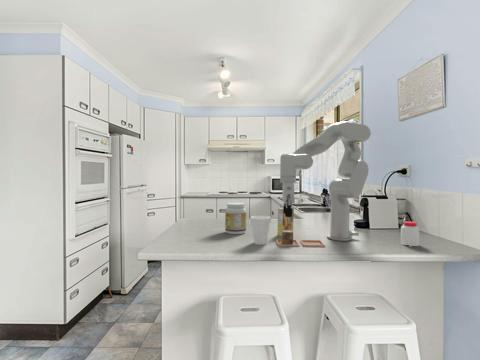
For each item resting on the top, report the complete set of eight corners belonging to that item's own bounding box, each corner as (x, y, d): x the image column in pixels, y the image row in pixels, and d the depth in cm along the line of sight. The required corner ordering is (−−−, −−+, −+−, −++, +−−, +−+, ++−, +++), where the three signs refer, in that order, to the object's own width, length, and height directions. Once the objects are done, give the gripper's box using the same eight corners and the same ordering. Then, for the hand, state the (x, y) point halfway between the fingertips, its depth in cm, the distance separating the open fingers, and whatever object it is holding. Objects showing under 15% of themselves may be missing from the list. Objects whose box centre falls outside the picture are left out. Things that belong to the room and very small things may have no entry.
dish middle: (296, 242, 147) (296, 239, 147) (299, 247, 137) (299, 244, 137) (276, 241, 147) (276, 239, 147) (277, 246, 137) (277, 244, 137)
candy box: (287, 233, 166) (288, 206, 166) (293, 235, 163) (294, 207, 163) (277, 235, 161) (277, 208, 160) (282, 237, 157) (283, 208, 157)
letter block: (291, 242, 144) (292, 230, 144) (293, 245, 139) (293, 232, 139) (281, 242, 145) (281, 229, 144) (282, 244, 140) (282, 232, 139)
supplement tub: (223, 230, 173) (223, 202, 173) (243, 230, 176) (243, 201, 175) (227, 235, 161) (227, 204, 161) (248, 234, 164) (248, 204, 164)
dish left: (320, 242, 146) (320, 240, 146) (325, 247, 136) (325, 245, 136) (300, 242, 146) (300, 239, 146) (303, 247, 137) (303, 244, 136)
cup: (273, 242, 145) (274, 216, 144) (265, 247, 136) (266, 219, 136) (255, 240, 150) (255, 215, 149) (246, 244, 141) (246, 217, 140)
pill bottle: (416, 243, 146) (417, 221, 145) (420, 247, 138) (421, 224, 138) (399, 242, 148) (399, 220, 148) (402, 245, 141) (402, 223, 141)
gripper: (298, 180, 132) (297, 218, 133) (293, 179, 149) (293, 212, 150) (281, 180, 133) (281, 217, 133) (278, 179, 150) (278, 212, 150)
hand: (287, 215), depth 141 cm, fingers open, 9 cm apart
